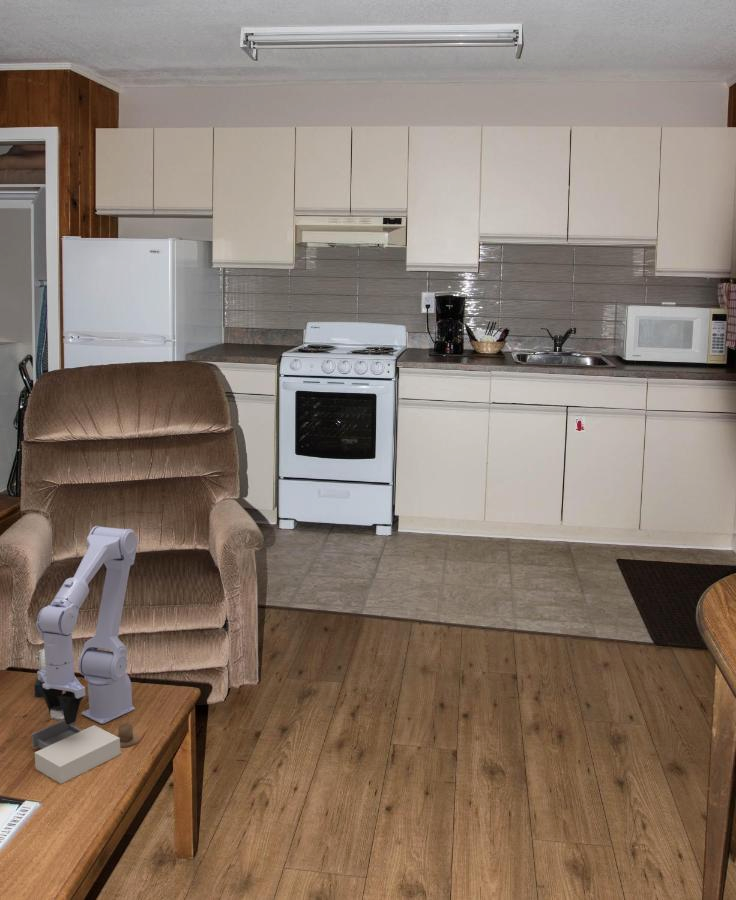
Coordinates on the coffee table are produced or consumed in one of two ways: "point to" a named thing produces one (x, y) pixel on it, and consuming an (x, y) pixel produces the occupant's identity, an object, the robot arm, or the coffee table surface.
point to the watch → (41, 666)
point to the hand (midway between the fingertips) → (63, 718)
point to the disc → (57, 712)
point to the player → (77, 754)
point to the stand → (127, 736)
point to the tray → (53, 734)
